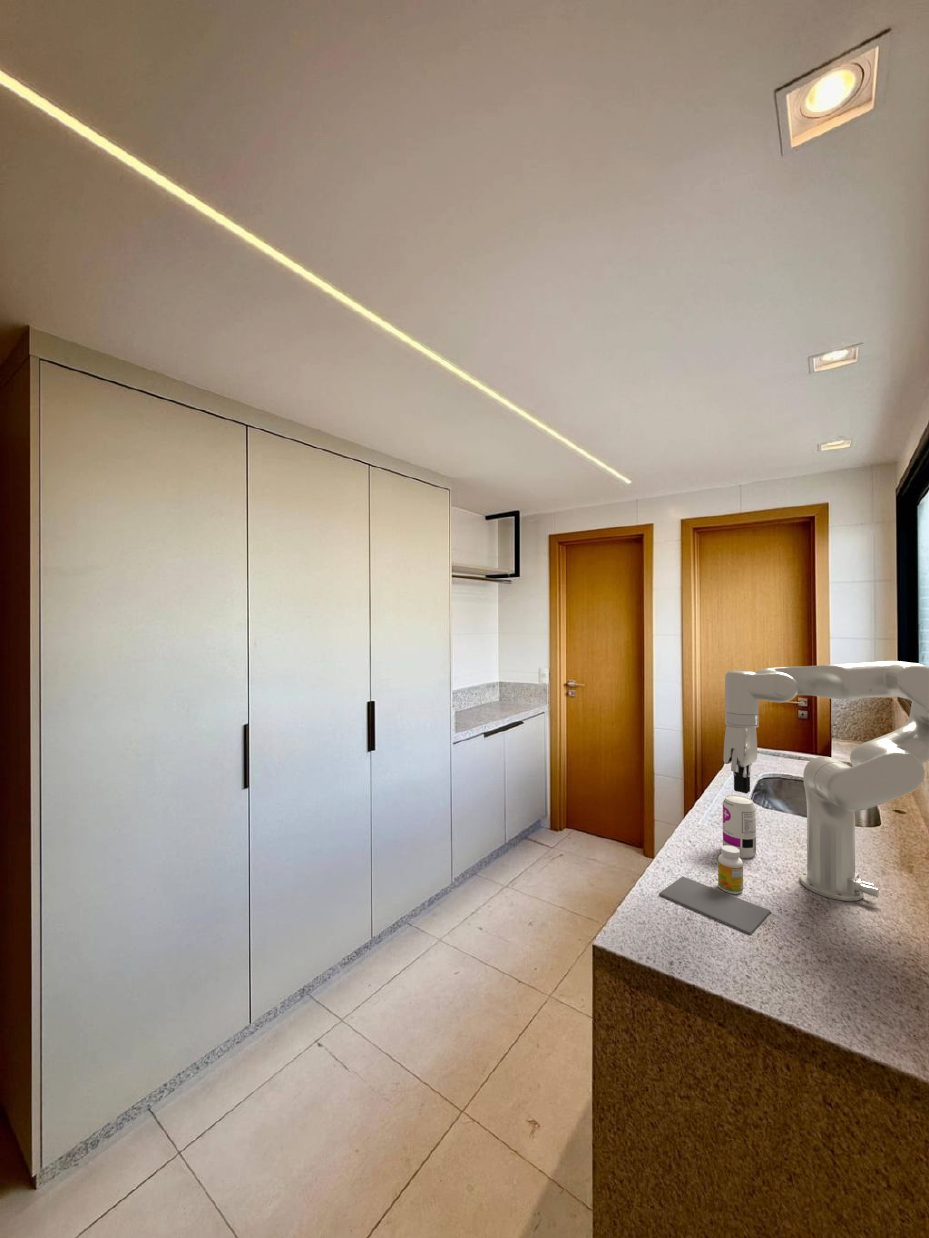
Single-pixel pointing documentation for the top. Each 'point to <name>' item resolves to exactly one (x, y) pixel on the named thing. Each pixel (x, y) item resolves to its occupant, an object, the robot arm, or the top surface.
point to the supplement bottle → (730, 870)
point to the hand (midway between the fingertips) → (741, 791)
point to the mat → (716, 904)
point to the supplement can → (740, 824)
